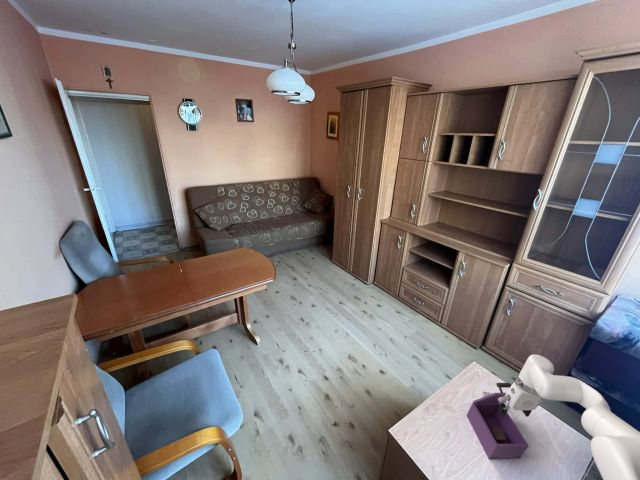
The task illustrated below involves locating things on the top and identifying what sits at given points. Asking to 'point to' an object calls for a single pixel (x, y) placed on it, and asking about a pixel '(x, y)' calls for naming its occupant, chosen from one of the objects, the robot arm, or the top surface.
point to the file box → (491, 418)
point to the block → (498, 436)
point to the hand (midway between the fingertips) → (512, 412)
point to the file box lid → (494, 394)
